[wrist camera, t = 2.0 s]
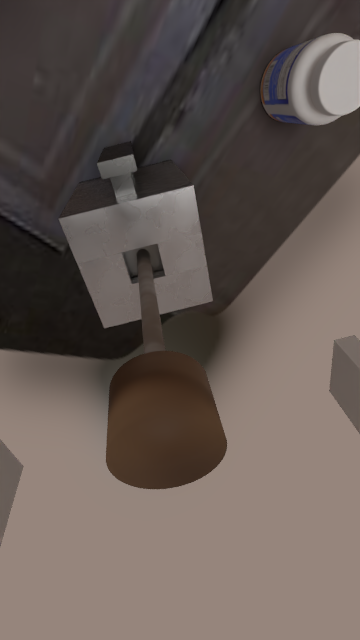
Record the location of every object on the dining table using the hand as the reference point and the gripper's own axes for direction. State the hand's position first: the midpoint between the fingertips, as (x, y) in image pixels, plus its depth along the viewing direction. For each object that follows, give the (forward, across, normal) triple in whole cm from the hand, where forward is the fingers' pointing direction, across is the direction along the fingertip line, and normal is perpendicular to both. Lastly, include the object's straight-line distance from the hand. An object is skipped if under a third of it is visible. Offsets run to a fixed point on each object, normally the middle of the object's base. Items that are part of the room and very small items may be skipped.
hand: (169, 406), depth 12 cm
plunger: (+16, 0, 0) cm, 16 cm away
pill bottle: (+26, +16, +8) cm, 31 cm away
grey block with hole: (+25, -1, +1) cm, 25 cm away
